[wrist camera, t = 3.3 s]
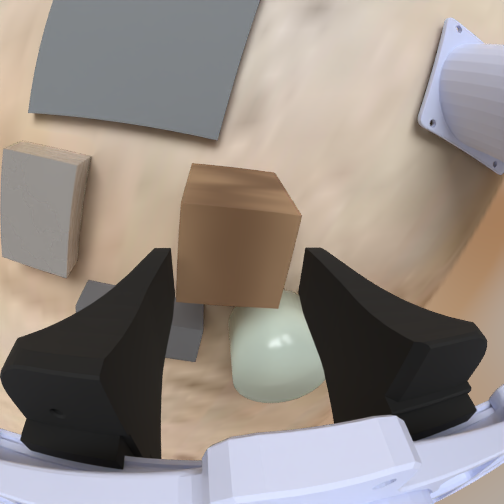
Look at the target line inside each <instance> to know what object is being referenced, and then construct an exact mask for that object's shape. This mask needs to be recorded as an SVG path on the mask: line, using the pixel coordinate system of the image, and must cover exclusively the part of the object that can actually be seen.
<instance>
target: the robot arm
mask: <svg viewBox="0 0 504 504" xmlns="http://www.w3.org/2000/svg"><path fill="white" fill-rule="evenodd" d="M456 27H457V28H458V31H457V29H456ZM431 120H432V122H433V123H432V126H430V121H431ZM418 123H419V125H420V126H421V127H423V128H425V129H427V130H429V131H430V132H432V133H434V134H436V135H437V136H439V137H441V138H443V139H444V140H446V141H448V142H449V143H451V144H453V145H454V146H456V147H458V148H459V149H461V150H462V151H464V152H466V153H467V154H469V155H470V156H472V157H473V158H475V159H476V160H478V161H479V162H481V163H482V164H484V165H485V166H487V167H488V168H490V169H491V170H492V171H494V172H495V173H497V174H499V175H502V174H503V173H504V45H499V44H484V43H483V42H482V41H481V40H480V39H479V38H477V37H476V36H475V35H474V34H473V33H472V32H470V31H469V30H468V29H467V28H465V27H464V26H463V25H462V24H460V23H459V22H458V21H456V20H455V19H454V18H447V19H445V22H444V26H443V30H442V34H441V39H440V43H439V47H438V50H437V54H436V58H435V62H434V65H433V69H432V72H431V76H430V79H429V83H428V86H427V89H426V93H425V96H424V99H423V102H422V105H421V108H420V111H419V114H418ZM493 163H494V164H493ZM298 292H299V297H300V302H301V307H302V311H303V314H304V317H305V320H306V323H307V325H308V328H309V331H310V333H311V336H312V339H313V341H314V344H315V347H316V349H317V352H318V354H319V357H320V360H321V363H322V366H323V370H324V375H325V379H326V383H327V387H328V392H329V397H330V402H331V407H332V413H333V419H334V424H329V425H323V426H316V427H309V428H301V429H293V430H283V431H273V432H260V433H253V434H247V435H241V436H234V437H230V438H227V439H225V440H223V441H220V442H218V443H216V444H213V445H212V446H210V447H209V448H208V449H207V450H206V452H205V454H204V456H203V458H202V460H167V459H161V393H162V375H163V367H164V361H165V355H166V350H167V345H168V340H169V335H170V330H171V325H172V320H173V313H174V300H175V289H174V279H173V268H172V257H171V248H154V249H153V250H152V251H151V252H150V253H149V254H148V255H147V256H146V257H145V258H144V259H143V260H142V261H141V262H140V263H139V264H138V265H137V266H136V267H135V268H134V269H133V270H132V271H131V272H130V273H129V274H128V275H127V276H126V277H125V278H124V279H122V280H121V281H120V282H119V283H118V284H117V285H116V286H115V287H113V288H112V289H111V290H110V291H108V292H107V293H106V294H104V295H103V296H102V297H100V298H99V299H97V300H96V301H95V302H93V303H92V304H90V305H88V306H87V307H85V308H83V309H82V310H80V311H78V312H77V313H75V314H73V315H72V316H70V317H68V318H66V319H64V320H62V321H60V322H58V323H56V324H54V325H51V326H49V327H47V328H44V329H42V330H39V331H36V332H34V333H31V334H28V335H25V336H23V337H19V338H18V339H17V340H16V342H15V344H14V346H13V348H12V350H11V352H10V354H9V356H8V358H7V360H6V362H5V364H4V366H3V368H2V370H1V374H0V378H1V382H2V385H3V387H4V389H5V390H6V392H7V394H8V395H9V397H10V398H11V399H12V401H13V402H14V403H15V405H16V406H17V407H18V408H19V410H20V411H21V412H22V413H23V415H24V416H25V417H26V418H27V419H26V422H25V425H24V428H23V431H22V435H20V434H17V433H14V432H10V431H7V430H4V429H1V428H0V504H433V503H435V502H437V501H439V500H441V499H443V498H445V497H447V496H449V495H451V494H453V493H455V492H456V491H458V490H460V489H462V488H464V487H465V486H467V485H469V484H471V483H472V482H474V481H476V480H477V479H479V478H481V477H482V476H484V475H486V474H487V473H489V472H490V471H492V470H493V469H495V468H497V467H498V466H500V465H501V464H503V463H504V384H503V385H501V386H500V387H499V388H497V390H496V391H495V392H494V393H493V394H492V395H491V397H490V399H489V400H488V401H486V402H484V403H481V404H479V405H477V406H475V405H474V404H473V402H472V400H471V399H470V397H469V395H468V393H469V392H470V391H471V386H470V385H469V383H468V382H467V381H468V379H469V378H470V376H471V375H472V374H473V372H474V371H475V369H476V368H477V366H478V365H479V363H480V362H481V360H482V358H483V356H484V355H485V351H486V348H487V340H486V338H485V336H484V335H483V334H482V332H481V331H480V330H479V328H478V327H477V326H476V325H475V324H474V323H473V322H468V321H464V320H460V319H456V318H451V317H448V316H445V315H441V314H438V313H435V312H432V311H429V310H427V309H424V308H421V307H419V306H417V305H414V304H412V303H410V302H407V301H405V300H403V299H401V298H399V297H397V296H395V295H393V294H391V293H389V292H387V291H385V290H384V289H382V288H380V287H378V286H377V285H375V284H374V283H372V282H370V281H369V280H367V279H366V278H364V277H363V276H361V275H360V274H358V273H357V272H355V271H354V270H352V269H351V268H350V267H348V266H347V265H345V264H344V263H343V262H341V261H340V260H339V259H337V258H336V257H334V256H333V255H332V254H330V253H329V252H327V251H326V250H324V249H322V248H305V254H304V261H303V267H302V273H301V279H300V285H299V291H298Z"/></svg>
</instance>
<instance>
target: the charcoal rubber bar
mask: <svg viewBox="0 0 504 504" xmlns="http://www.w3.org/2000/svg"><path fill="white" fill-rule="evenodd" d="M113 287H115V285H110V284H106V283H101V282H96V281H92V280H88V282H87V284H86V286H85V288H84V290H83V292H82V294H81V296H80V298H79V300H78V302H77V304H76V313H77V312H78V311H80V310H82V309H83V308H85V307H87V306H88V305H90V304H92V303H93V302H95V301H96V300H97V299H99V298H100V297H102V296H103V295H104V294H106V293H107V292H108V291H110V290H111V289H112V288H113ZM203 312H204V304H194V303H182V302H176V297H175V300H174V313H173V320H172V325H171V330H170V335H169V340H168V345H167V350H166V355H165V358H171V359H178V360H184V361H191V362H196V358H197V354H198V350H199V346H200V342H201V338H202V334H203Z"/></svg>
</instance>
